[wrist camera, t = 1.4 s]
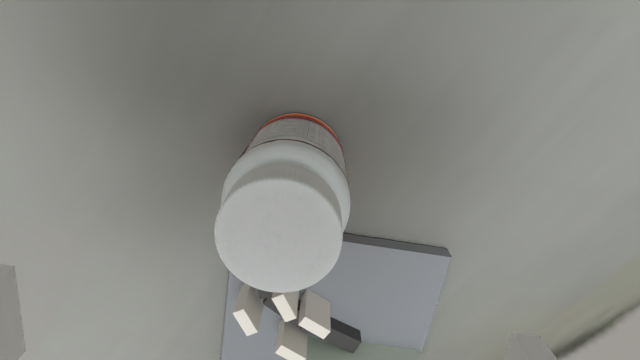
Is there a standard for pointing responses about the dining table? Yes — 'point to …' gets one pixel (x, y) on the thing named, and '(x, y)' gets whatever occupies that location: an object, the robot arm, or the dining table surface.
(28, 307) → the dining table surface
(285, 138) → the pill bottle
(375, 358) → the end holder
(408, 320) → the board
